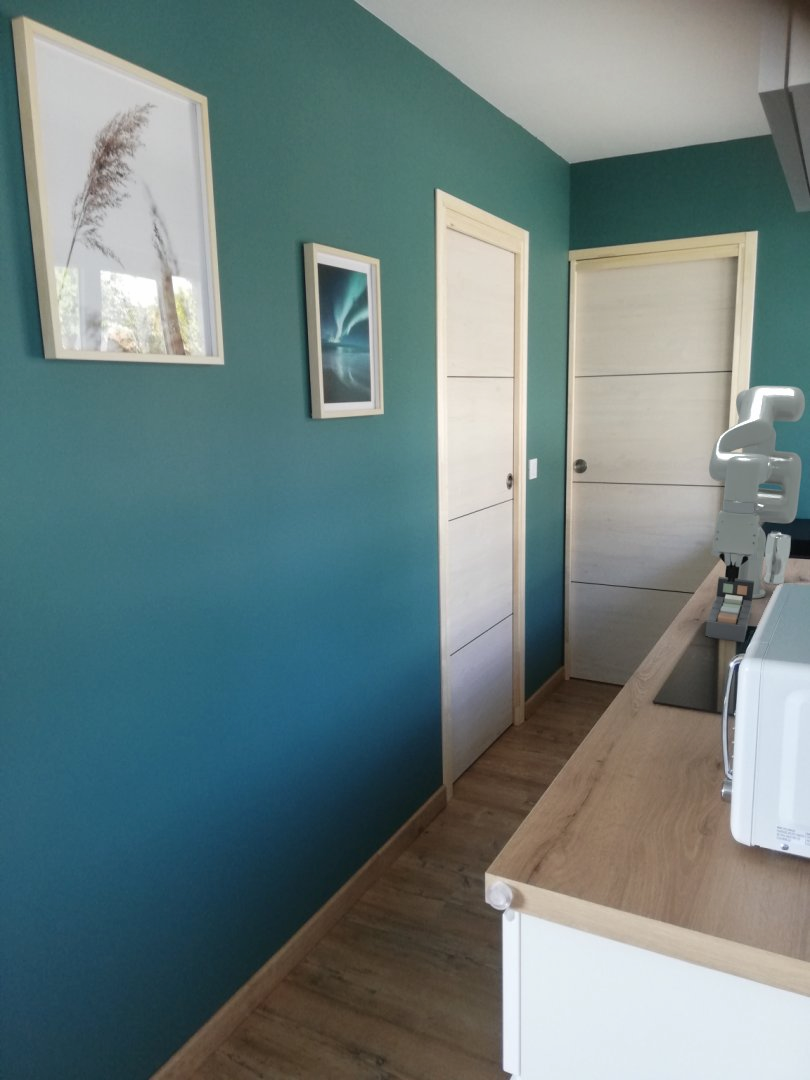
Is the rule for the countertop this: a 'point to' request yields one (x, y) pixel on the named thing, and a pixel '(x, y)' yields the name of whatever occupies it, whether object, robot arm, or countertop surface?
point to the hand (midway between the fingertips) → (731, 580)
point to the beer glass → (776, 557)
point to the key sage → (731, 606)
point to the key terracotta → (727, 618)
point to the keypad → (737, 589)
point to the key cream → (733, 599)
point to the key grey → (729, 610)
